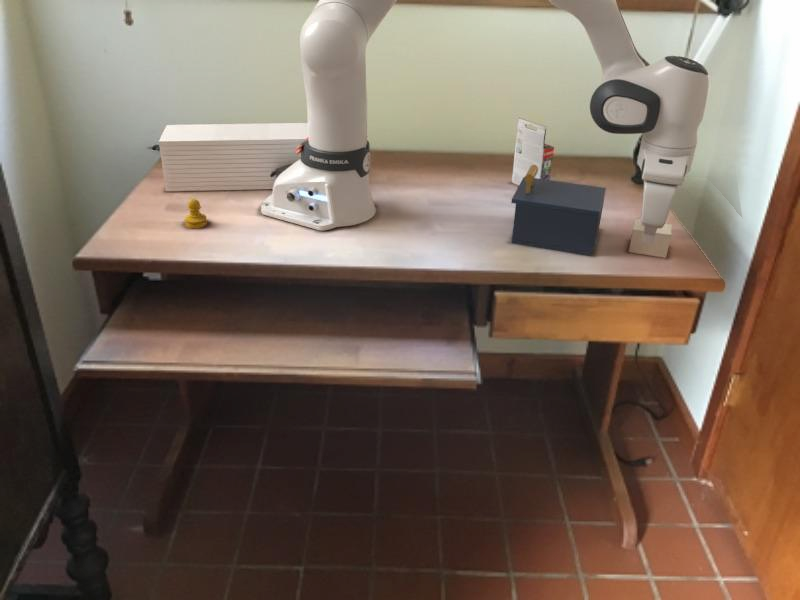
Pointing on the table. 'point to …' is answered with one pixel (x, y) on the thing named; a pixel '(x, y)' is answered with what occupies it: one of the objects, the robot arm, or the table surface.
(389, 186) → the table surface
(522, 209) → the chest
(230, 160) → the white ribbed box
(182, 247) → the table surface
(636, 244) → the cream box
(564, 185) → the lid
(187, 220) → the chess piece
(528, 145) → the ink box
